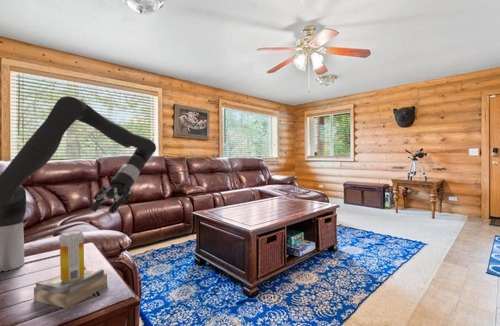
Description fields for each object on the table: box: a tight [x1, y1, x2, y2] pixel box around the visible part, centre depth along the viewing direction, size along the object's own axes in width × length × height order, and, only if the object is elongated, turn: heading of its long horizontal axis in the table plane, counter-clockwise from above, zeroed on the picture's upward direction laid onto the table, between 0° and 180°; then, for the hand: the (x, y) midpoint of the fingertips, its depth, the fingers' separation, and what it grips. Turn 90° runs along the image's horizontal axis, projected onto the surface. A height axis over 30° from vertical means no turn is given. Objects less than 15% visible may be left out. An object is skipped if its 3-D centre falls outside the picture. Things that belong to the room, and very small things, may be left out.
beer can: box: [59, 230, 85, 283], centre depth 77 cm, size 6×6×15 cm
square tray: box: [33, 269, 108, 310], centre depth 77 cm, size 14×13×6 cm
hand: (101, 211), depth 88 cm, fingers open, 8 cm apart
